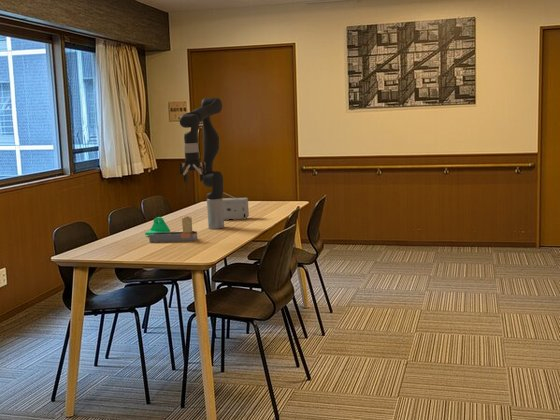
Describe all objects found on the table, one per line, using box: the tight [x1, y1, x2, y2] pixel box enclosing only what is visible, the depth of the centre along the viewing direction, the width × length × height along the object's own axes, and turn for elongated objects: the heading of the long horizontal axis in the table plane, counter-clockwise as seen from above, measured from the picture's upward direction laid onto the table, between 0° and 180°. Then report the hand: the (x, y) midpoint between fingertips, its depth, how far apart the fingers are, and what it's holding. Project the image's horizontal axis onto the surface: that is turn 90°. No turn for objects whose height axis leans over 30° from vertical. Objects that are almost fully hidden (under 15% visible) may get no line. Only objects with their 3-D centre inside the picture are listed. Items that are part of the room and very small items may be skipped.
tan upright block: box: [181, 215, 193, 234], centre depth 357 cm, size 4×4×11 cm
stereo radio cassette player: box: [223, 191, 250, 221], centre depth 424 cm, size 21×8×20 cm, turn 84°
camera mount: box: [144, 216, 171, 236], centre depth 377 cm, size 12×8×10 cm, turn 70°
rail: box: [148, 230, 198, 243], centre depth 359 cm, size 8×24×4 cm, turn 81°
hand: (193, 181), depth 364 cm, fingers open, 8 cm apart
